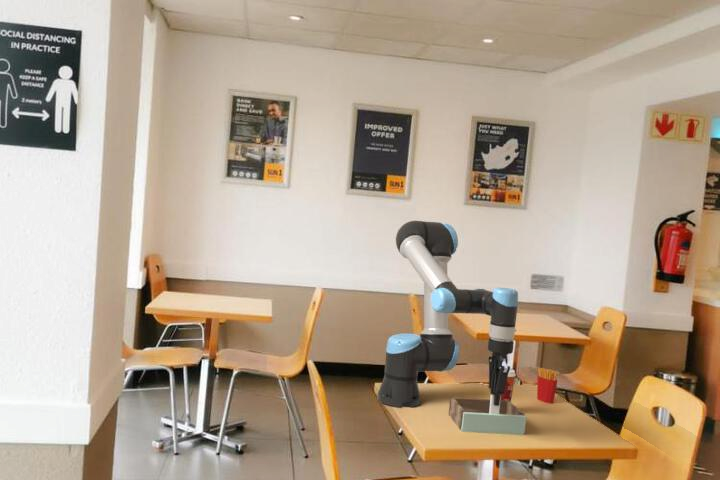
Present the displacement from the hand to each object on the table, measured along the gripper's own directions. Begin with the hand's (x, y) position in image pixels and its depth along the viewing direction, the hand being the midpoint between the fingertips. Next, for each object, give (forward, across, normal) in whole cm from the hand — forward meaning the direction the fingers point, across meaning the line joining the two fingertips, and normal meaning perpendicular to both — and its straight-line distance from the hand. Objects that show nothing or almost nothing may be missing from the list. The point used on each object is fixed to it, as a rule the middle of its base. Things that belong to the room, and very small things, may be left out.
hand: (493, 414), depth 188 cm
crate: (+7, +7, 0) cm, 10 cm away
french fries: (+7, +42, -35) cm, 55 cm away
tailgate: (+5, 0, 0) cm, 5 cm away
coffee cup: (+7, +24, -11) cm, 27 cm away
